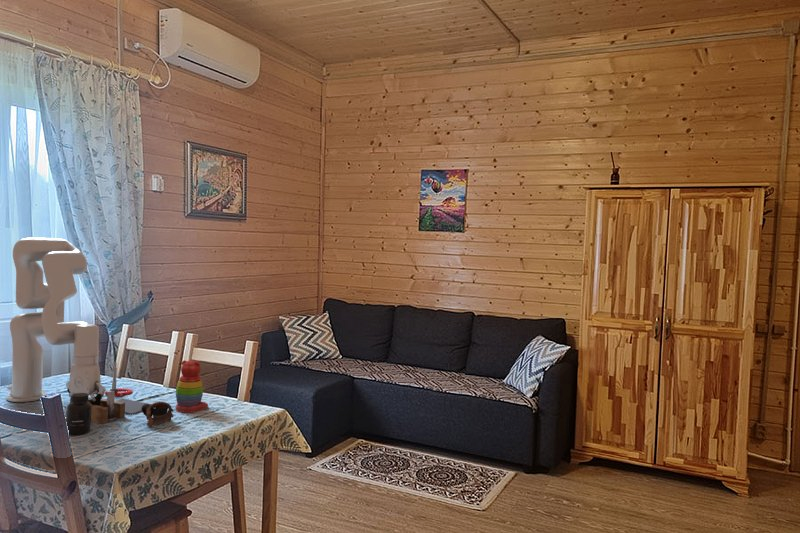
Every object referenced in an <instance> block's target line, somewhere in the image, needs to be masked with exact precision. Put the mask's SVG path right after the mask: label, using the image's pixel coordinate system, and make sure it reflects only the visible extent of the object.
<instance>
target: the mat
mask: <svg viewBox="0 0 800 533" xmlns="http://www.w3.org/2000/svg"><path fill="white" fill-rule="evenodd" d="M115 401H119V402H124V403H125V415H126V414H127V415H130V414H131V415H132V414H133V415H136V414H139V413H143V412H142V410H141V408H142V406H143V405H144V404H150V405H151V404H152V403H148V402H142V401H137V400H131V399H126V398H120V399H116V400H115ZM155 408H156V407H154V408H153V409H155ZM133 415H132V416H133Z"/></svg>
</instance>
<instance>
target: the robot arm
mask: <svg viewBox="0 0 800 533" xmlns="http://www.w3.org/2000/svg"><path fill="white" fill-rule="evenodd" d="M12 259H13V263H14V266H15V273H16V274H15V303H16V306H17V308H19V309H22V310H38V309H39V310H40V309H42V311H36V312H35V311H34V312H25V313H20V314H17V315H15V316H14V317H13V318H11V320H10V323H9V330H10V335H11V341H12V342H11V344H12V345H11V346H12V366H11V367H12V373H11V385H10V386H8V387H7V390H8V391H10V394H7V396H6V400H7V401H9V402H13V403H26V402H34V401H39V400H40V401H41V399H40V397H42V396H46V395H47V394H48V393H47V392H46V391H43V372H44V371H43V367H44V366H43V364H44V363H43V362H44V361H43V360H44V350H43V347H42V345H41V343H39V341H38V339H39V338H45V339H46V341H47V342H48V343H49V345H52V346H62V345H70V344H73V363H72V364H71V368H70V373H69V381H68V382H66V383H65V386H66V390H67V391H66V392H68V397H69V398H70V399H69V404H70V403H71V395H72V394H75V393H87V394H88V395H89V396H90V398H92V400H93V401H91V404H92V405H97V406H100V400H101V399H102V398H104V395H105V392H106V389H107V388H105V387H104V386H103V384H101V379H102V378H101V371H100V370H101V369H100V365H99V354H100V353H99V351H100V350H99V347H100V327H99V325H97V324H94V323H89V322H86V321H83V320H77V321H67V322H65V301H66V300H69V299H71V298H73V297H74V296H75V295H76V294H77V292H78V289H77V286H76V281H75V277H74V275H82V274H84V273H85V272H86V271H87V269H88V268H87V267H88V262H87V258H86V257H85V255H84V254H83V252H82V251H81V250H80V249H78V248H77V246H75V245H74V244H72V243H71V242H70V241H68V240H67V239H64V238H58V237H57V238H53V237H50V238H49V237H47V238H46V237H26V238H25V237H24V238H22V239H19V240H18V241H16V243H15V244H14V246H13V248H12ZM38 262H41V265H42V267H41V265H40V264H39V263H38ZM44 277H45V281H46V282H44ZM47 396H48V395H47ZM47 396H46V397H47Z"/></svg>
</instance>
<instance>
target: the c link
mask: <svg viewBox="0 0 800 533" xmlns="http://www.w3.org/2000/svg"><path fill="white" fill-rule="evenodd" d="M88 398H89V400H88V402H89V403H91V401H93V400H92V398H91V397H88ZM91 405H92V404H91ZM114 416H115V417H117V419H123V418H126V414H125V403H124V402H119V401H116V400H114ZM108 422H109V421H108V407H107V398H104V397H102V399H101V400H100V406H97V405H92V409H91V423H96V424H100V425H104V424H108Z"/></svg>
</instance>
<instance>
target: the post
mask: <svg viewBox="0 0 800 533" xmlns="http://www.w3.org/2000/svg"><path fill="white" fill-rule="evenodd" d="M115 397H116V396H115V391H109V390H107V395H106V399H107V407H108V422H114V421H116V420H117V419H118V418H117V417H115V416H114V401H115Z"/></svg>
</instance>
